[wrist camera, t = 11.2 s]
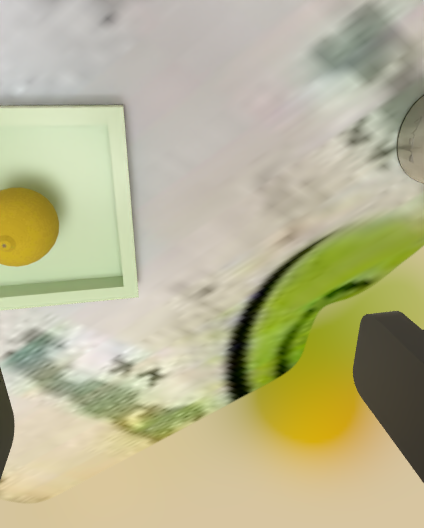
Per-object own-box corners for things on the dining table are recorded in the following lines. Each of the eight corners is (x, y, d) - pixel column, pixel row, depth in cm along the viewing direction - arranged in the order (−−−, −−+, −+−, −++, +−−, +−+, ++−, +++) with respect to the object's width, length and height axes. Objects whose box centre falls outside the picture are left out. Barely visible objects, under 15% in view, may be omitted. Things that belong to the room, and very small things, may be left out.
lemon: (7, 165, 32) (-27, 189, 25) (75, 196, 34) (62, 227, 27) (-17, 225, 33) (-55, 264, 26) (50, 252, 35) (31, 295, 28)
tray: (122, 104, 33) (123, 107, 30) (137, 282, 39) (138, 297, 36) (-102, 106, 29) (-124, 109, 27) (-45, 298, 36) (-58, 315, 33)
